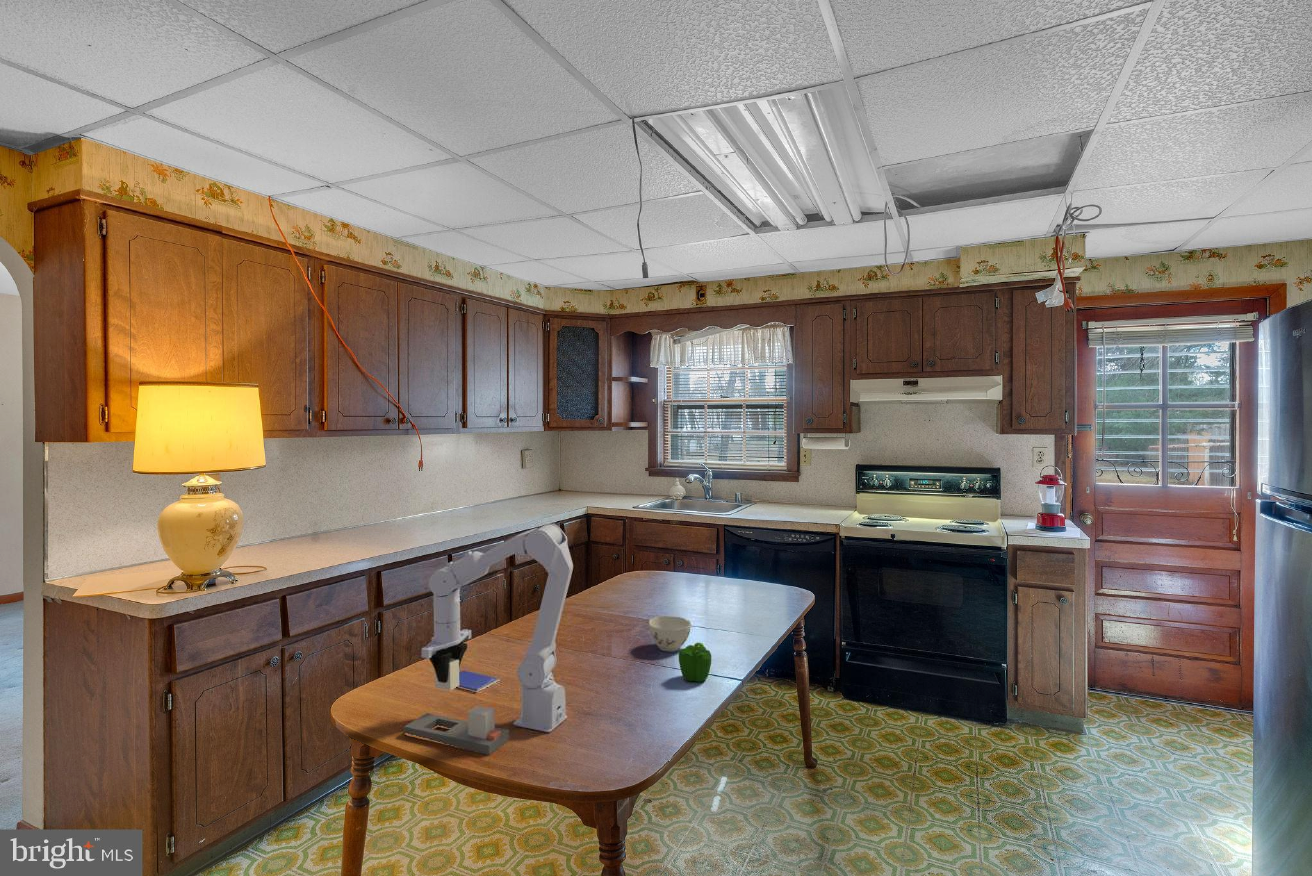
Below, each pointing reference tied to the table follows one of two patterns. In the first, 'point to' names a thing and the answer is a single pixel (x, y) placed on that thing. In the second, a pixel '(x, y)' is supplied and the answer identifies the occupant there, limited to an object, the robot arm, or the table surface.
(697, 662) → the bell pepper
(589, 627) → the table surface
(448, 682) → the plug
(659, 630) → the teacup
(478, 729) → the slotted gray plate
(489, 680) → the blue book
